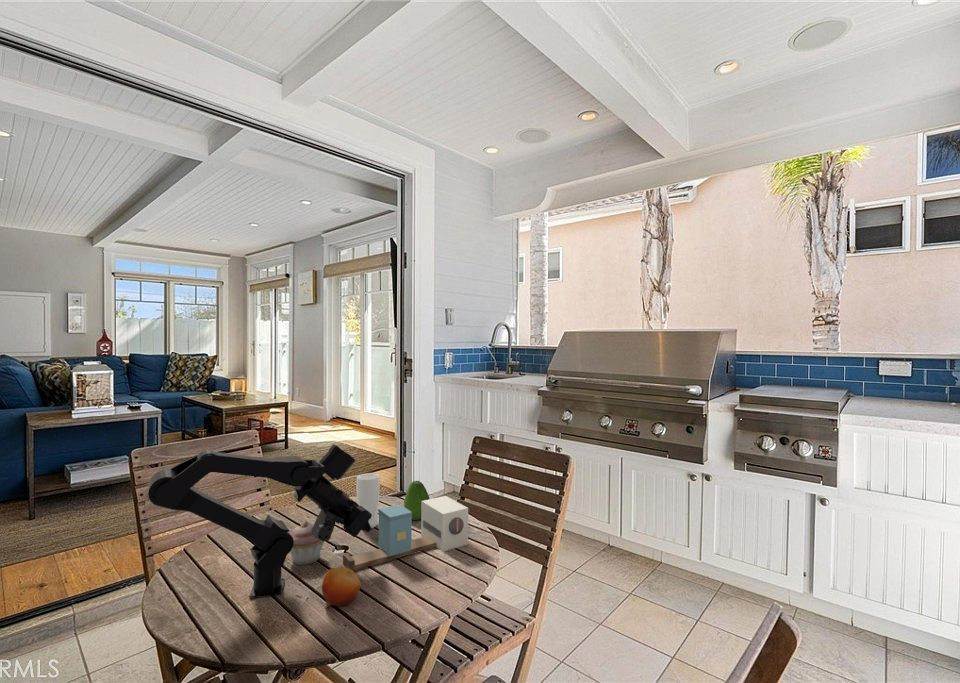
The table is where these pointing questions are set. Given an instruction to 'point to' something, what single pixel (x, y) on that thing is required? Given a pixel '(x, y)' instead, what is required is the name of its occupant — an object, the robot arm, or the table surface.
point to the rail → (384, 554)
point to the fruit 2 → (415, 498)
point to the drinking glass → (368, 494)
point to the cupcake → (305, 545)
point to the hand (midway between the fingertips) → (369, 530)
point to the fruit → (340, 586)
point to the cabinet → (444, 522)
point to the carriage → (395, 529)
